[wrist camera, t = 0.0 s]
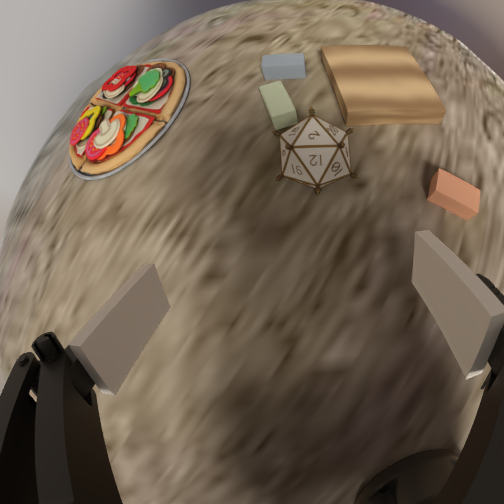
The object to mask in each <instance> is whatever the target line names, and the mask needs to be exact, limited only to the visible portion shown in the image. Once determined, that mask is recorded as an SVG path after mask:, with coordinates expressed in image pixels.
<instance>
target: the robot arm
mask: <svg viewBox="0 0 504 504" xmlns="http://www.w3.org/2000/svg"><path fill="white" fill-rule="evenodd" d="M412 284H413V285H414V287H415V288H416V290H417V291H418V293H419V295H420V296H421V298H422V299H423V301H424V303H425V304H426V306H427V308H428V309H429V311H430V313H431V314H432V316H433V318H434V319H435V321H436V323H437V325H438V326H439V328H440V330H441V332H442V334H443V335H444V337H445V339H446V341H447V343H448V345H449V347H450V348H451V350H452V352H453V354H454V356H455V358H456V360H457V362H458V364H459V366H460V368H461V371H462V373H463V375H464V377H465V379H468V378H471V377H474V376H476V375H479V374H481V373H482V372H483V370H484V368H485V366H486V364H487V362H488V363H489V365H490V366H491V368H492V369H491V370H490V372H489V374H488V376H487V378H486V380H485V381H484V383H483V385H482V387H481V389H483V388H484V387H485V389H484V392H483V396H482V399H481V402H480V405H479V408H478V411H477V414H476V417H475V420H474V423H473V425H472V428H471V430H470V433H469V435H468V438H467V440H466V443H465V445H464V447H463V449H462V452H461V454H460V456H459V458H458V457H457V456H456V455H455V454H454V453H452V452H450V451H447V450H430V451H425V452H421V453H418V454H415V455H412V456H410V457H407V458H405V459H403V460H401V461H399V462H397V463H395V464H393V465H392V466H390V467H388V468H387V469H385V470H384V471H383V472H381V473H380V474H378V475H377V476H376V477H375V478H374V479H373V480H371V481H370V482H369V483H368V484H367V485H366V486H365V488H364V489H363V490H362V491H361V493H360V494H359V496H358V498H357V500H356V503H355V504H504V295H503V294H502V293H500V291H499V290H498V289H497V288H495V286H494V285H493V283H492V282H491V281H490V280H489V279H487V278H486V277H484V276H482V275H480V274H479V273H478V274H475V273H474V272H473V271H472V270H471V269H470V268H469V267H468V266H467V265H466V264H465V263H464V262H463V261H462V260H461V259H460V258H459V257H458V256H457V255H455V254H454V253H453V252H452V251H451V250H450V249H449V248H448V247H447V246H446V245H445V244H444V243H443V242H441V241H440V240H439V239H438V238H437V237H436V236H435V235H434V234H432V233H431V232H430V231H429V230H423V231H415V242H414V260H413V273H412ZM169 308H170V304H169V302H168V299H167V297H166V294H165V292H164V289H163V287H162V284H161V281H160V279H159V276H158V273H157V270H156V268H155V265H154V264H147V265H142V266H141V267H140V268H139V269H138V270H137V271H136V272H135V273H134V274H133V275H132V276H131V277H130V278H129V279H128V280H127V281H126V282H125V283H124V284H123V285H122V286H121V287H120V288H119V289H118V291H117V292H116V293H115V294H114V295H113V296H112V297H111V298H110V299H109V300H108V301H107V302H106V303H105V304H104V305H103V306H102V307H101V308H100V310H99V311H98V312H97V313H96V314H95V315H94V316H93V317H92V318H91V319H90V321H89V322H88V323H87V324H86V325H85V326H84V327H83V328H82V329H81V331H80V332H79V333H78V334H77V335H76V336H75V337H74V339H73V340H72V341H71V342H70V343H69V344H68V346H67V348H66V349H65V350H64V348H63V347H62V345H61V344H60V342H59V340H58V339H57V337H56V335H55V334H54V333H53V332H47V333H44V334H42V335H41V336H39V337H38V338H37V339H36V340H35V341H34V342H33V344H32V346H31V347H32V348H33V350H34V351H35V353H36V354H37V356H38V357H39V359H40V361H38V360H37V358H36V357H35V355H34V354H33V353H32V352H27V353H24V354H22V355H21V356H20V357H19V358H18V359H17V361H16V363H15V365H14V367H13V369H12V371H11V373H10V375H9V377H8V379H7V382H6V384H5V386H4V389H3V391H2V393H1V396H0V504H123V503H122V500H121V497H120V495H119V492H118V489H117V486H116V482H115V479H114V476H113V473H112V469H111V465H110V462H109V458H108V454H107V450H106V446H105V442H104V437H103V432H102V427H101V422H100V417H99V411H98V405H97V398H96V393H95V391H94V390H93V389H92V388H93V386H94V385H95V384H96V385H97V386H98V388H99V389H100V390H101V392H102V393H105V394H109V395H113V396H115V395H116V393H117V392H118V390H119V388H120V387H121V385H122V383H123V382H124V380H125V378H126V377H127V375H128V373H129V372H130V370H131V368H132V367H133V365H134V363H135V362H136V360H137V359H138V357H139V355H140V354H141V352H142V351H143V349H144V347H145V346H146V344H147V343H148V341H149V339H150V338H151V336H152V335H153V333H154V331H155V330H156V328H157V327H158V325H159V324H160V322H161V321H162V319H163V317H164V316H165V314H166V313H167V311H168V310H169ZM30 389H31V390H32V391H33V393H34V394H35V395H36V396H37V402H35V400H34V399H33V398H32V397H31V396H30V395H29V392H30Z"/></svg>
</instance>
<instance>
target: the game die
mask: <svg viewBox="0 0 504 504" xmlns="http://www.w3.org/2000/svg"><path fill="white" fill-rule="evenodd" d="M314 111H315V110H314V109H313V108H312V107H311V108H310V110H309V113H310V116H309V117H307V118H305V119H304V120H302V121H301V122H299V123H297V124H296V125H294V126H293V127H291V128H289V129H288V130H286V131H285V132H283V133H282V134H280V133H279V132H277V131H274V132H273V133H274V135H276V136H279V139H280V154H281V171H282V174H281V175H279V176H277V178H276V180H275V181H278V180H281V179H282V178H283V177H285V178H288V179H291V180H294V181H296V182H299V183H302V184H305V185H307V186H310V187H312V188H315V193H316V194H317V195H318V194H319V193H320V191H321V189H320V188H322V187H324V186H326V185H328V184H331V183H333V182H335V181H338V180H340V179H342V178H344V177H347V176H349V175H351V177H353V178H358V177H357V175H356V174H354V173H352V172H351V160H350V149H349V139H348V134H351V133H352V132H353V130H354V129H350V128H349V129H347V131H344V130H342V129H340V128H338V127H336V126H334V125H332V124H330V123H328V122H326V121H324V120H322V119H320V118H318V117H316V116H314V113H315V112H314Z"/></svg>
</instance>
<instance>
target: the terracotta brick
mask: <svg viewBox="0 0 504 504" xmlns="http://www.w3.org/2000/svg"><path fill="white" fill-rule="evenodd" d="M427 200H428V201H430V202H433V203H435V204H437V205H439V206H441V207H442V208H444V209H446V210H448V211H450V212H452V213H454V214H456V215H458V216H460V217H461V218H463V219H465V220H469V219H470V218H472V217H473V216H475V215H476V214H478V210H479V200H480V190H479V189H477V188H475V187H474V186H472V185H470V184H468V183H467V182H465V181H463V180H461V179H459V178H457V177H456V176H454V175H452V174H450V173H448V172H446V171H444V170H442V169H440V168H439V169H438V170H437V172H436V173H435V174H434V176H433V177H432V178H431V183H430V188H429V193H428V198H427Z"/></svg>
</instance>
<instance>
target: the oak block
mask: <svg viewBox="0 0 504 504" xmlns="http://www.w3.org/2000/svg"><path fill="white" fill-rule="evenodd" d="M321 55H322V62H323V64H324V67H325V69H326V72H327V74H328V77H329V79H330V82H331V84H332V87H333V89H334V92H335V95H336V98H337V100H338V103H339V106H340V109H341V112H342V115H343V118H344V121H345V124H346V126H357V125H374V124H440V122H441V120H442V119H443V117H444V115H445V113H446V110H445V108H444V106H443V104H442V102H441V101H440V99H439V97H438V95H437V94H436V92H435V90H434V89H433V87H432V85H431V84H430V82H429V80H428V79H427V77H426V76H425V74H424V73H423V71H422V70H421V68H420V67H419V65H418V64H417V62H416V61H415V59H414V58H413V57H412V55H411V54H410V52H409V51H408V50H407V48H406V47H398V46H381V45H341V46H323V47H321Z"/></svg>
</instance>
